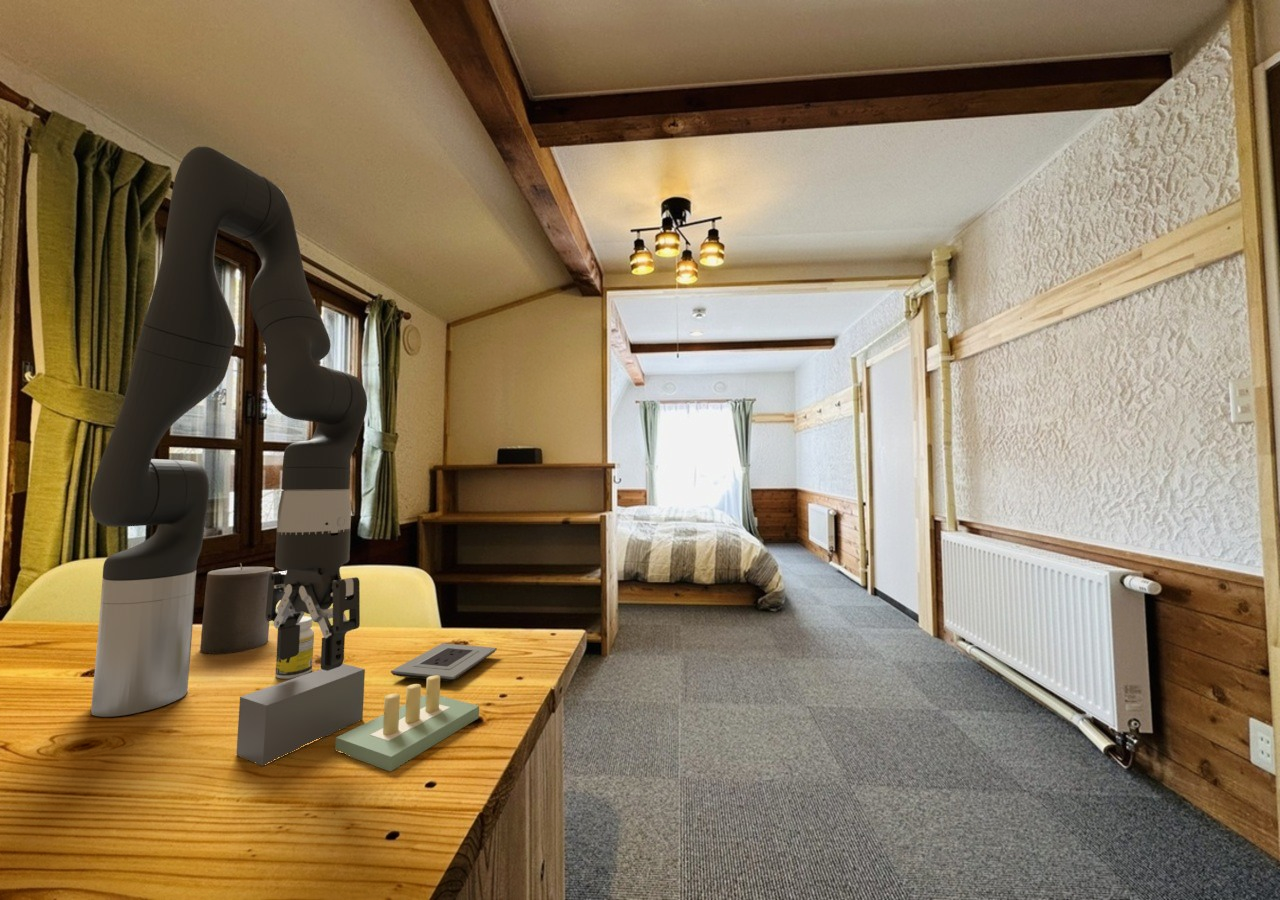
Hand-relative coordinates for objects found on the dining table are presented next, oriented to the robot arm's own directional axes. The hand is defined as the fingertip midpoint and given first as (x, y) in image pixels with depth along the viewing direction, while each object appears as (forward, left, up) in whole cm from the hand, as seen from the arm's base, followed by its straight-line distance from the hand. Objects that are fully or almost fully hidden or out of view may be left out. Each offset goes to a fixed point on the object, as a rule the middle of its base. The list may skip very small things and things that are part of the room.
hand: (309, 662), depth 58 cm
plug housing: (0, 0, -9) cm, 9 cm away
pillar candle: (-45, +14, -9) cm, 48 cm away
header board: (+11, +6, -9) cm, 15 cm away
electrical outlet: (-1, +23, -9) cm, 25 cm away
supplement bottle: (-21, +11, -9) cm, 26 cm away
